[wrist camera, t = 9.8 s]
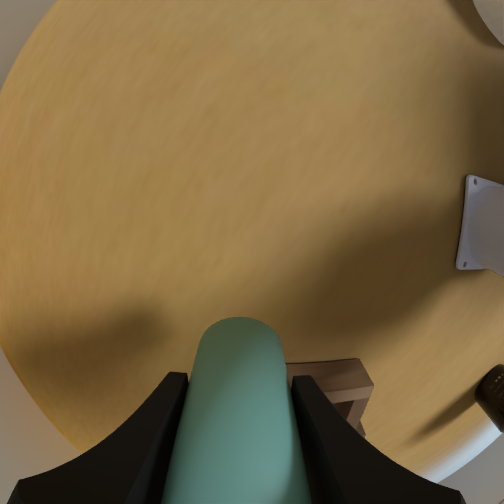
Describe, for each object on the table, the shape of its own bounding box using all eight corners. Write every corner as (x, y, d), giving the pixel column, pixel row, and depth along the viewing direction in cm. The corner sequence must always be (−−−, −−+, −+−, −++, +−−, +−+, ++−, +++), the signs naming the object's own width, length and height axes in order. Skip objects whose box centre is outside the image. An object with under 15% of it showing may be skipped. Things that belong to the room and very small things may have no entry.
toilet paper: (459, -29, 8) (486, -47, 2) (516, 35, 10) (547, 27, 4) (447, -15, 10) (480, -37, 3) (511, 60, 12) (549, 52, 5)
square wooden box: (359, 358, 20) (374, 385, 17) (339, 418, 22) (348, 443, 19) (263, 364, 20) (266, 396, 16) (259, 424, 22) (261, 452, 19)
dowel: (284, 316, 11) (341, 548, 2) (279, 382, 12) (306, 566, 3) (194, 316, 11) (125, 541, 2) (202, 381, 12) (172, 563, 3)
